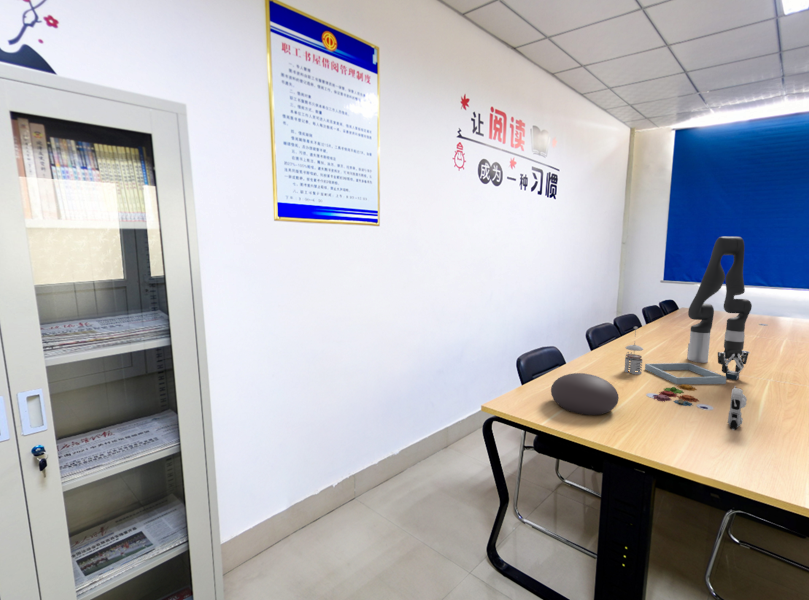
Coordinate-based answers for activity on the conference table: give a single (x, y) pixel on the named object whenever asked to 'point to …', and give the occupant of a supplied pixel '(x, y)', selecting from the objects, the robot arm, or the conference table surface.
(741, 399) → the robot toy
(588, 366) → the conference table surface
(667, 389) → the gear puzzle
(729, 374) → the watch
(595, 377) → the smooth stone
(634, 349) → the french press
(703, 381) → the grey flat square frame
